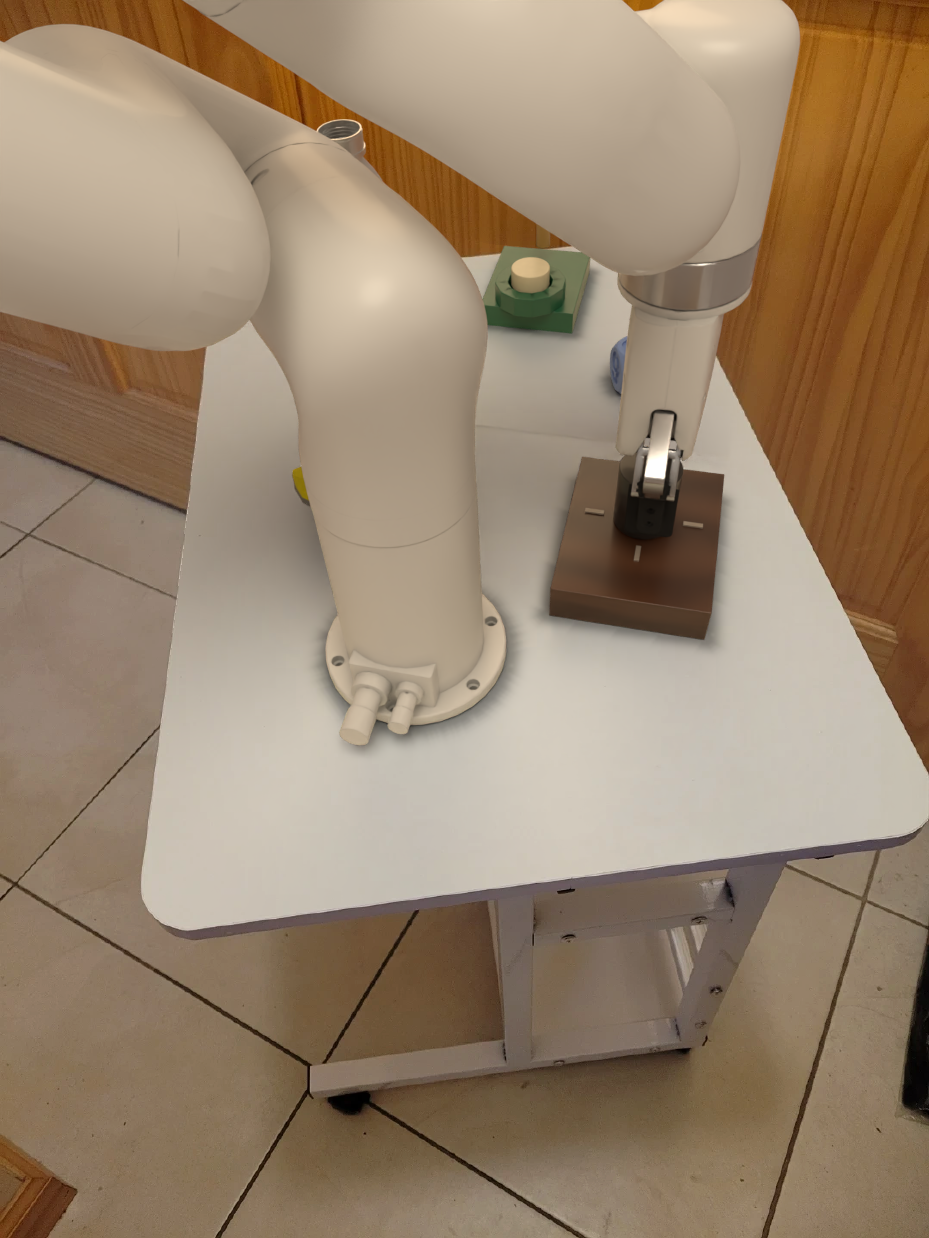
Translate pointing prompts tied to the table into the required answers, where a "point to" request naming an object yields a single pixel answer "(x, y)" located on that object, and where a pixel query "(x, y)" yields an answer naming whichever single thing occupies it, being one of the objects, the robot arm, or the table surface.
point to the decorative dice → (618, 363)
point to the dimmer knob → (623, 485)
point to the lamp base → (541, 308)
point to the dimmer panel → (638, 558)
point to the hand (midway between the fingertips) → (655, 482)
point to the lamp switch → (530, 275)
